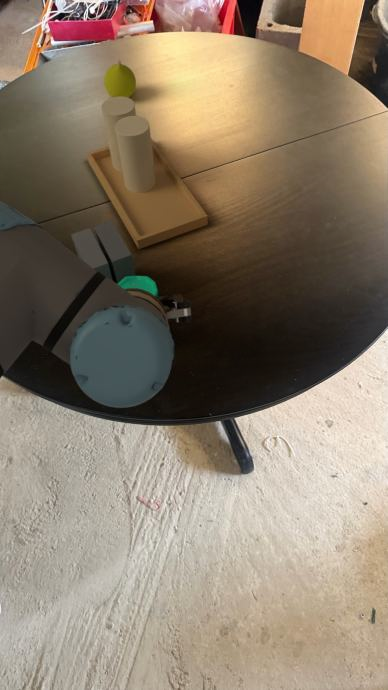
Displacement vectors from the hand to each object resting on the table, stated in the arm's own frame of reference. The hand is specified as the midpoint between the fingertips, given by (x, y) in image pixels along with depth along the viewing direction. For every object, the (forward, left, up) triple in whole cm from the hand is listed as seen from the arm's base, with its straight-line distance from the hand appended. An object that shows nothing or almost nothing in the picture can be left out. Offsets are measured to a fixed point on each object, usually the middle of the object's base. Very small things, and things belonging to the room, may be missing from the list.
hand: (139, 301), depth 71 cm
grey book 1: (-7, -4, -5) cm, 10 cm away
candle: (+4, -1, -4) cm, 5 cm away
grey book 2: (-7, 0, -5) cm, 9 cm away
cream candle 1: (-37, +12, -4) cm, 39 cm away
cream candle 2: (-30, +12, -4) cm, 33 cm away
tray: (-28, +12, -5) cm, 31 cm away
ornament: (-61, +20, -5) cm, 65 cm away
